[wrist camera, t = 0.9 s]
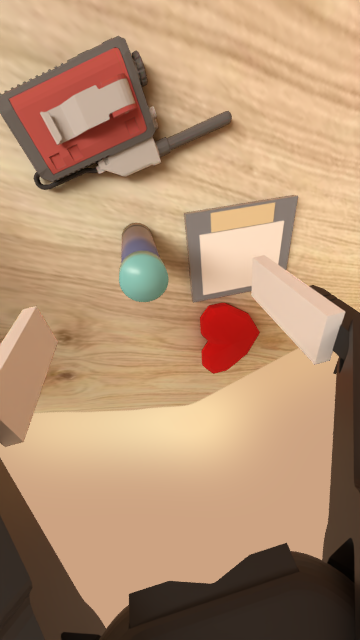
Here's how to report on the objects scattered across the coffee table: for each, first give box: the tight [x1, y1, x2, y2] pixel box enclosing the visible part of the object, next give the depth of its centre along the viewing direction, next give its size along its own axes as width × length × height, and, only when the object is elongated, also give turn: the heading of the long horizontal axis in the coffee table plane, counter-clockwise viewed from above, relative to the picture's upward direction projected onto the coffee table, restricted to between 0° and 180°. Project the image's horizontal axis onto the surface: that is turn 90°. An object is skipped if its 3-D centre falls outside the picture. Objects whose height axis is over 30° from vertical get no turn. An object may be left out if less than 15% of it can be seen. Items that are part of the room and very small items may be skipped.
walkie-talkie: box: [0, 36, 232, 190], centre depth 21 cm, size 9×4×20 cm
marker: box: [119, 223, 168, 302], centre depth 24 cm, size 4×4×12 cm
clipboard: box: [184, 195, 298, 303], centre depth 32 cm, size 14×12×1 cm
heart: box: [200, 303, 260, 374], centre depth 38 cm, size 12×4×10 cm
